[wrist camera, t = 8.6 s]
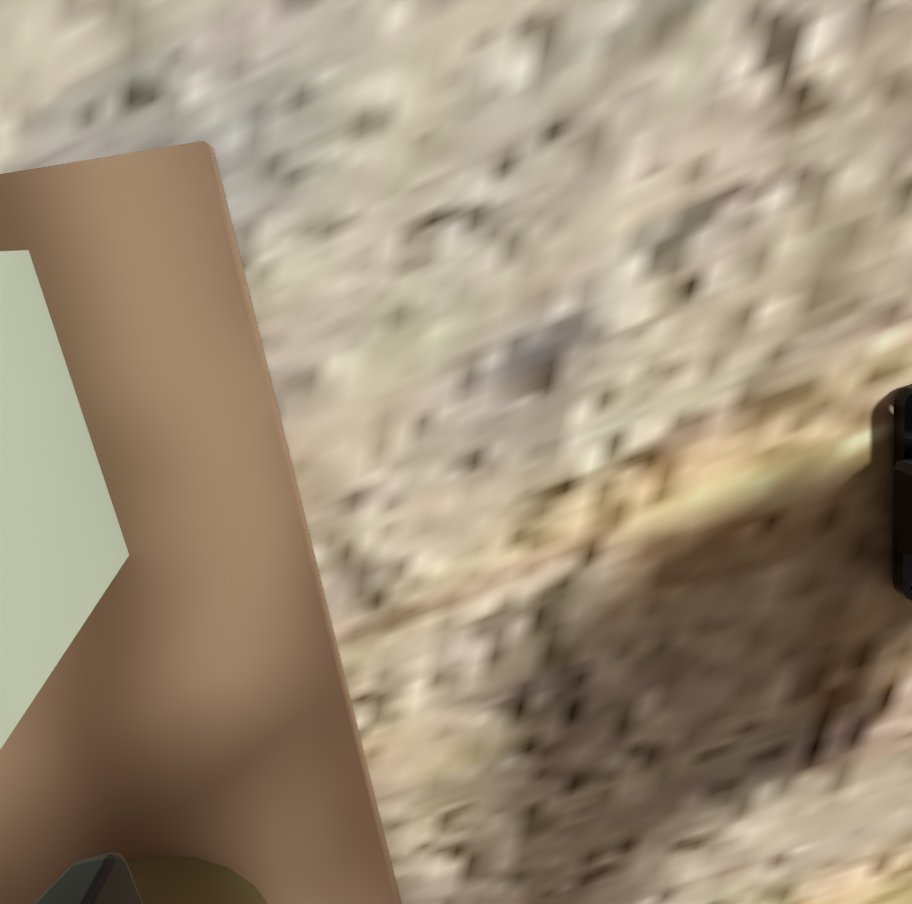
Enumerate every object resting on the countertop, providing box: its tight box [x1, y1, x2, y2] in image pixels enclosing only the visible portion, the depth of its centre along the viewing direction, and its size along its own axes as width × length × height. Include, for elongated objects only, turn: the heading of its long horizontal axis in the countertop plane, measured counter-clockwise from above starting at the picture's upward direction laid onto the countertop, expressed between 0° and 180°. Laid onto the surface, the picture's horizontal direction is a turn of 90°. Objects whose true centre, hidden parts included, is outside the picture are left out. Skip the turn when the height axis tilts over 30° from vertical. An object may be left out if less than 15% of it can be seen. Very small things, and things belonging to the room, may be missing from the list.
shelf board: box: [0, 141, 402, 904], centre depth 19 cm, size 11×28×3 cm, turn 10°
